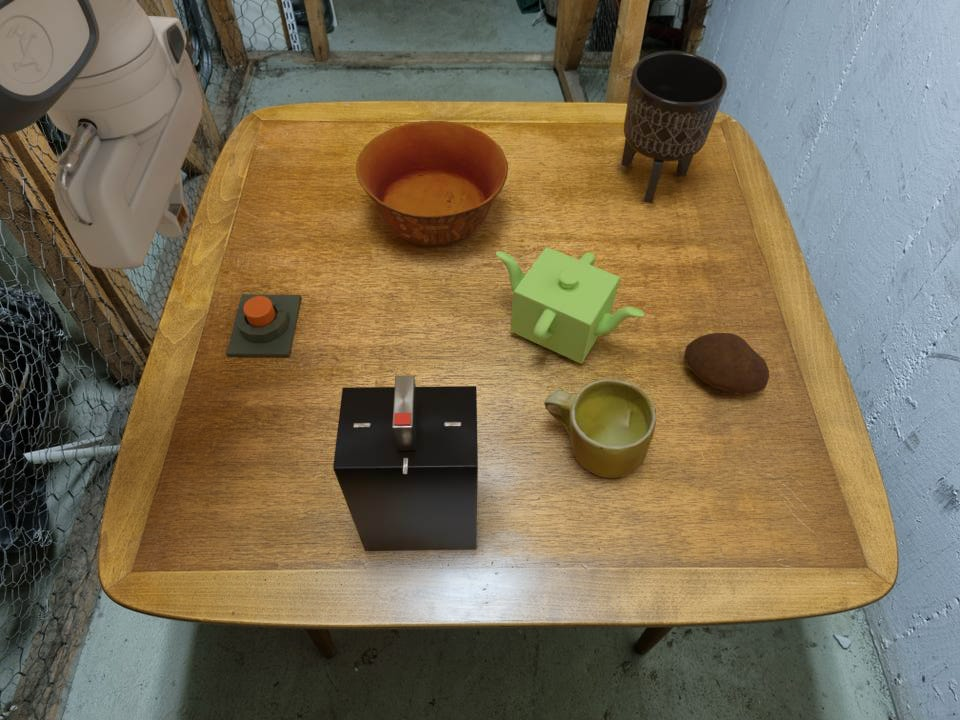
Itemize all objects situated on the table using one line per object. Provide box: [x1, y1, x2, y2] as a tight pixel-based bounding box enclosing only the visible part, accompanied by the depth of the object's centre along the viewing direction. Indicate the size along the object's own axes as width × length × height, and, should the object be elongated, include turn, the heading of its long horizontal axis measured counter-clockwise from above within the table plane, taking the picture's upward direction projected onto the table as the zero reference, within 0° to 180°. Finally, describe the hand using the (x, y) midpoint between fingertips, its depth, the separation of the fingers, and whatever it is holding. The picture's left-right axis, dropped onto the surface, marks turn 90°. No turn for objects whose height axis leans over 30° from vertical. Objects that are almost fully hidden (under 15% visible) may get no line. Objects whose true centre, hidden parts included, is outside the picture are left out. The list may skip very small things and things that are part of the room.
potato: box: [684, 332, 770, 395], centre depth 82 cm, size 7×10×7 cm
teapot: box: [495, 246, 645, 365], centre depth 85 cm, size 15×13×11 cm
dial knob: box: [392, 374, 418, 451], centre depth 56 cm, size 5×2×4 cm, turn 1°
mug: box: [543, 378, 657, 479], centre depth 77 cm, size 12×10×10 cm
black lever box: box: [332, 385, 479, 552], centre depth 66 cm, size 12×9×20 cm
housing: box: [225, 293, 303, 358], centre depth 88 cm, size 10×8×2 cm
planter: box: [620, 50, 728, 204], centre depth 100 cm, size 13×13×18 cm
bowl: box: [355, 120, 509, 246], centre depth 98 cm, size 21×21×10 cm
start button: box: [243, 296, 276, 327], centre depth 87 cm, size 4×4×2 cm
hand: (176, 226), depth 59 cm, fingers closed
